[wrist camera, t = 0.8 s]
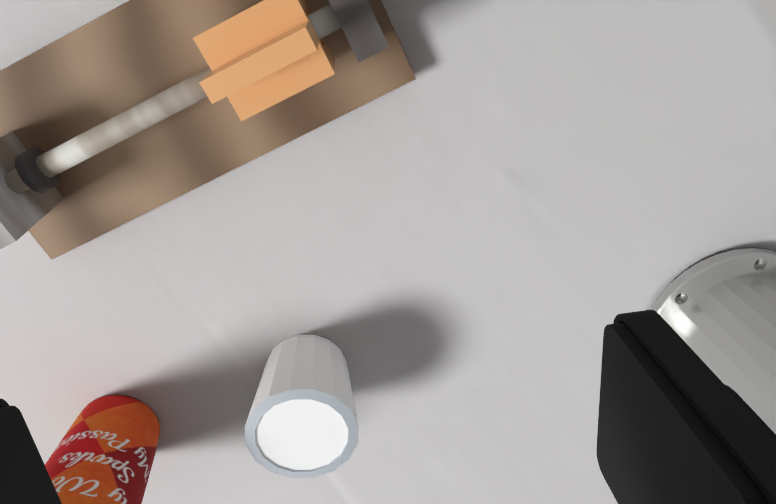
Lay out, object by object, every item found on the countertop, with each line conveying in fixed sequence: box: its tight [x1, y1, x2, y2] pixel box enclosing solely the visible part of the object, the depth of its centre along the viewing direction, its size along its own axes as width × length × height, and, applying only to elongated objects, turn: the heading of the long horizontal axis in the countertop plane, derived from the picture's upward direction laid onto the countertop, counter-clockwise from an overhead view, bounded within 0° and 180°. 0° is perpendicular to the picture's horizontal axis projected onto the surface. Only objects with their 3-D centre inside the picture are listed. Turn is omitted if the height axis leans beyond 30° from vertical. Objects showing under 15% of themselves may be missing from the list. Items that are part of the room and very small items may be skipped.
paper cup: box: [45, 395, 160, 504], centre depth 39 cm, size 8×8×14 cm
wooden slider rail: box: [0, 0, 416, 259], centre depth 32 cm, size 24×10×8 cm, turn 115°
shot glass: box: [245, 335, 358, 478], centre depth 41 cm, size 7×7×7 cm
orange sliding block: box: [193, 0, 335, 121], centre depth 29 cm, size 5×4×7 cm
